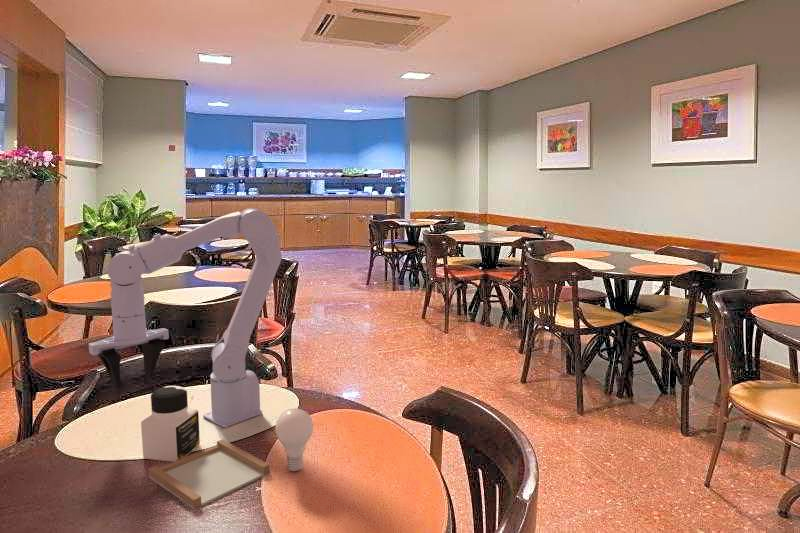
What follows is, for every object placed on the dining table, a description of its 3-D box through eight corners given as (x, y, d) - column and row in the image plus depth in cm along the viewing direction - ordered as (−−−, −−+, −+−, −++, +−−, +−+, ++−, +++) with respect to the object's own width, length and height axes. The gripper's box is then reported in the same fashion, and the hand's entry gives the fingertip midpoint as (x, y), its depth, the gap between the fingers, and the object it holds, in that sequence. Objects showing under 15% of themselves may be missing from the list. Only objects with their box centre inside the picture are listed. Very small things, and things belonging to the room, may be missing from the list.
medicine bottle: (178, 463, 98) (175, 398, 96) (142, 459, 99) (138, 395, 97) (200, 444, 105) (197, 384, 103) (166, 440, 106) (163, 380, 104)
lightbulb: (320, 464, 98) (319, 405, 96) (302, 483, 92) (301, 420, 91) (288, 458, 100) (287, 400, 98) (269, 475, 94) (267, 414, 93)
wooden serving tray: (222, 447, 104) (222, 439, 104) (269, 473, 95) (269, 464, 95) (149, 477, 93) (148, 468, 93) (194, 509, 84) (193, 500, 84)
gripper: (155, 304, 115) (158, 367, 117) (79, 317, 104) (85, 386, 106) (172, 310, 111) (176, 375, 113) (95, 324, 100) (101, 396, 102)
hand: (133, 381), depth 109 cm, fingers open, 6 cm apart
